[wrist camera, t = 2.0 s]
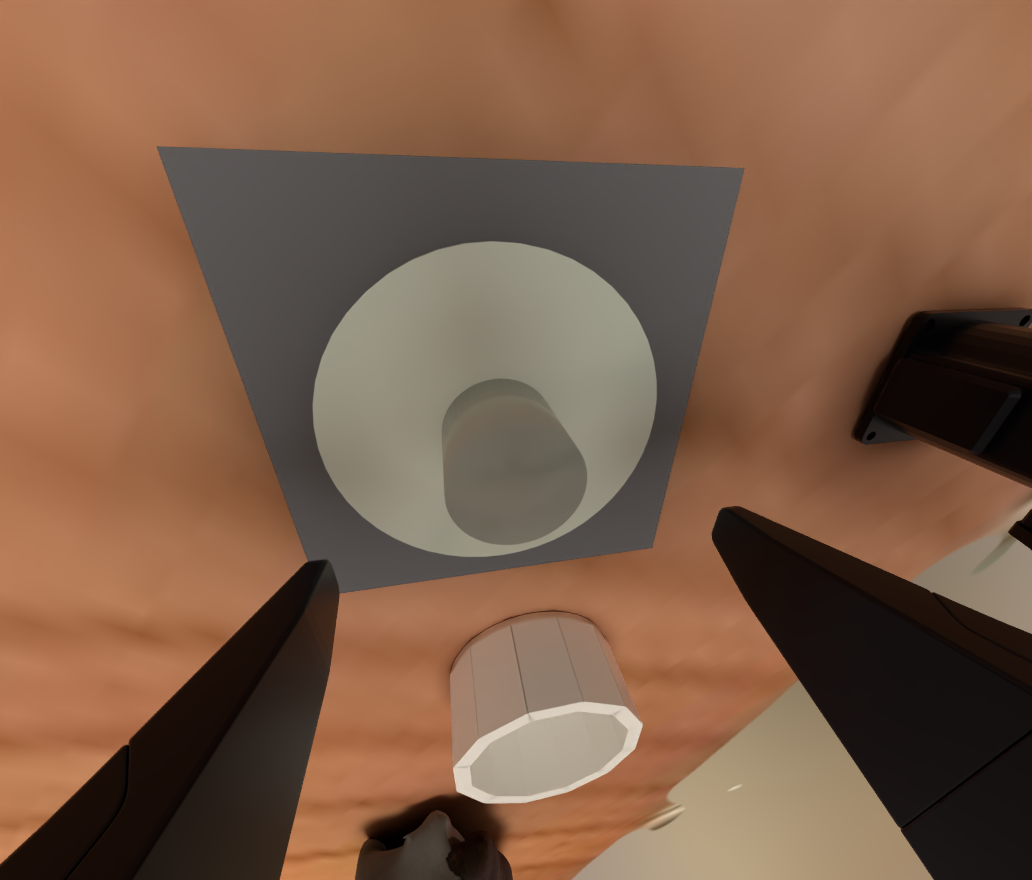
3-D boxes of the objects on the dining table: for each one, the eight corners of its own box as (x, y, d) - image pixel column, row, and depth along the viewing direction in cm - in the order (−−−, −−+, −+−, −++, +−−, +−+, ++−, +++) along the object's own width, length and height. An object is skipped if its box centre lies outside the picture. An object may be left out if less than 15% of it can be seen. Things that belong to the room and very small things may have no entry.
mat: (722, 172, 13) (744, 168, 12) (642, 534, 20) (652, 547, 19) (180, 153, 10) (156, 146, 9) (326, 578, 18) (320, 596, 17)
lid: (671, 240, 12) (779, 244, 9) (621, 521, 18) (672, 600, 14) (271, 241, 10) (176, 248, 6) (359, 558, 16) (337, 660, 12)
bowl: (613, 599, 23) (655, 686, 18) (595, 691, 27) (625, 777, 23) (443, 627, 21) (446, 730, 17) (456, 720, 26) (461, 818, 21)
